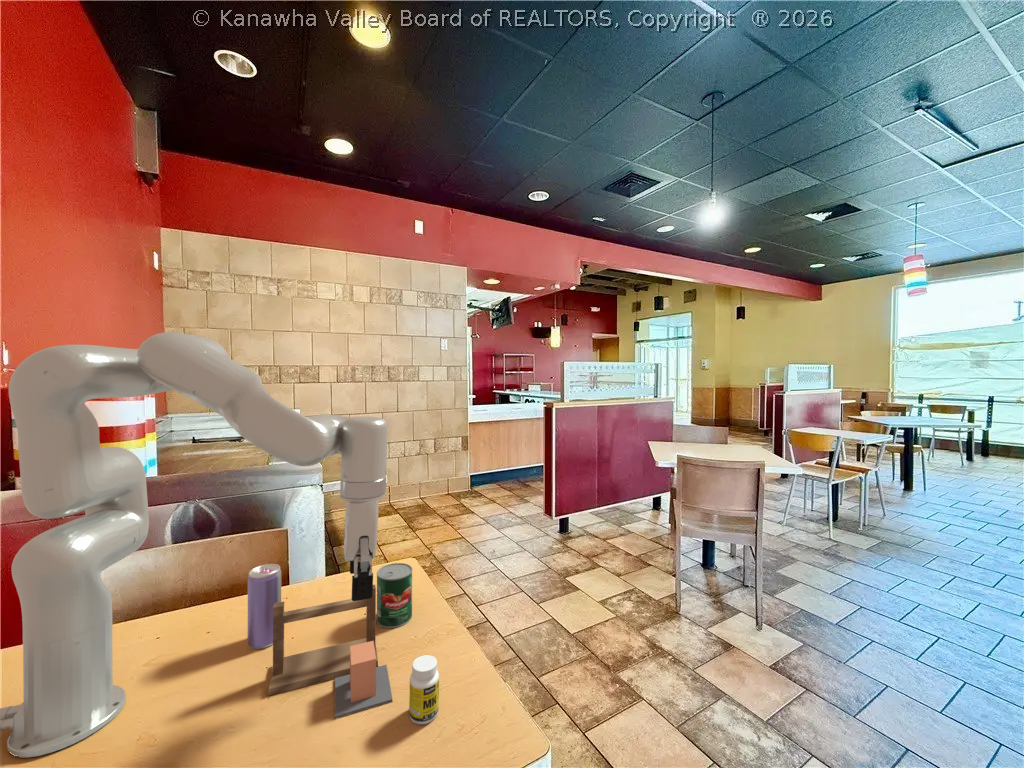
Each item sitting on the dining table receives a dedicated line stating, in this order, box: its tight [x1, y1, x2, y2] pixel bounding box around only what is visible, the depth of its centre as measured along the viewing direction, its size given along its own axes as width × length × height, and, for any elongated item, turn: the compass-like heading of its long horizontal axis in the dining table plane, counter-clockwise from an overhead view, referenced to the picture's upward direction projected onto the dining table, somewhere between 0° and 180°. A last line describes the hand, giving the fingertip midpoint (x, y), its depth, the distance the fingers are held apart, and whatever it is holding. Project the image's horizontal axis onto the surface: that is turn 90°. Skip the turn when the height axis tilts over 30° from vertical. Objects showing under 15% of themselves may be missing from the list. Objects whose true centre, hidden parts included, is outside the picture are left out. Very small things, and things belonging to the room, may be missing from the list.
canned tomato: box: [376, 562, 413, 629], centre depth 93 cm, size 8×8×11 cm
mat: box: [334, 664, 393, 719], centre depth 71 cm, size 9×9×1 cm
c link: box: [350, 641, 376, 702], centre depth 71 cm, size 4×5×6 cm
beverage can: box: [247, 563, 282, 650], centre depth 84 cm, size 6×6×15 cm
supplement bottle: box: [408, 654, 440, 725], centre depth 66 cm, size 5×5×8 cm
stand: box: [268, 584, 379, 696], centre depth 77 cm, size 18×8×14 cm, turn 114°
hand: (360, 584), depth 71 cm, fingers open, 9 cm apart
